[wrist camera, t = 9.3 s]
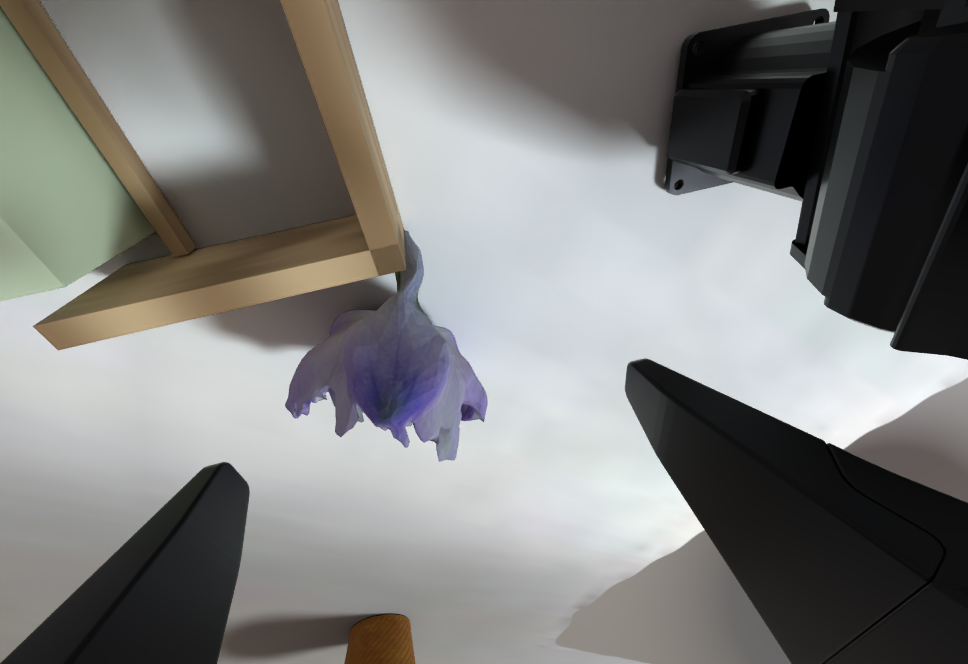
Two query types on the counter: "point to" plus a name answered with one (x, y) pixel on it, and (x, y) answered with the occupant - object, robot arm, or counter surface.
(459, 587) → the counter surface
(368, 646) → the disposable coffee cup
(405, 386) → the flower
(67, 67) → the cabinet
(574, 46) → the counter surface
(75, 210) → the pale green block
